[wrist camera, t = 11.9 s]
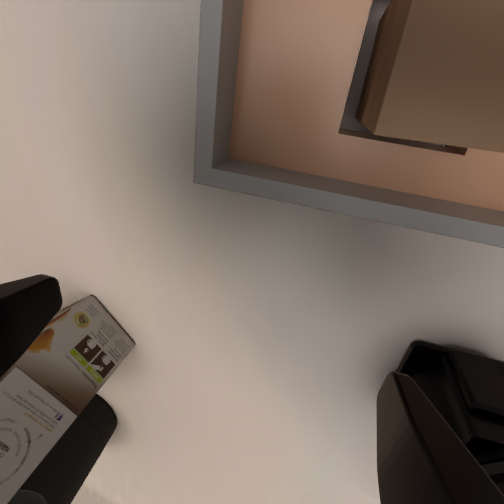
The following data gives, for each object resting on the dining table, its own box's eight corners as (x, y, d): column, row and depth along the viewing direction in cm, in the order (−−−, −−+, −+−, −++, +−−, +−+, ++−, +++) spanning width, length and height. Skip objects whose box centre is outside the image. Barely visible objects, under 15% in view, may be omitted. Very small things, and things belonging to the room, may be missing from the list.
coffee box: (92, 291, 26) (-187, 516, 12) (137, 344, 28) (-58, 593, 14) (35, 320, 30) (-224, 516, 16) (79, 365, 32) (-120, 577, 18)
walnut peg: (438, 128, 15) (531, 157, 8) (355, 117, 15) (374, 134, 8) (476, 28, 13) (644, -51, 6) (379, 20, 13) (429, -61, 6)
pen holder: (57, 419, 38) (-23, 513, 30) (42, 369, 34) (-57, 464, 25) (123, 443, 37) (60, 548, 28) (118, 395, 32) (40, 503, 24)
